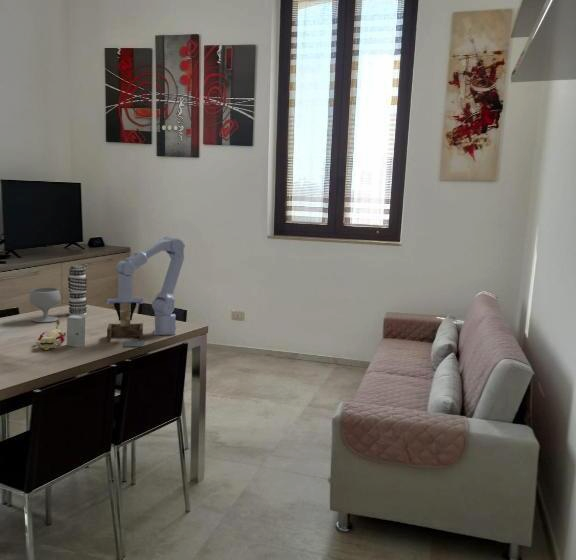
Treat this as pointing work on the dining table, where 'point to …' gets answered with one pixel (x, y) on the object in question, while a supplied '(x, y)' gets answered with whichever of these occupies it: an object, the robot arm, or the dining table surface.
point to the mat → (133, 344)
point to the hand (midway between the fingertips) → (125, 320)
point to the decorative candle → (77, 290)
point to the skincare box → (75, 331)
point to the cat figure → (51, 338)
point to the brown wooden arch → (125, 331)
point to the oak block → (125, 318)
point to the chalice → (44, 302)
